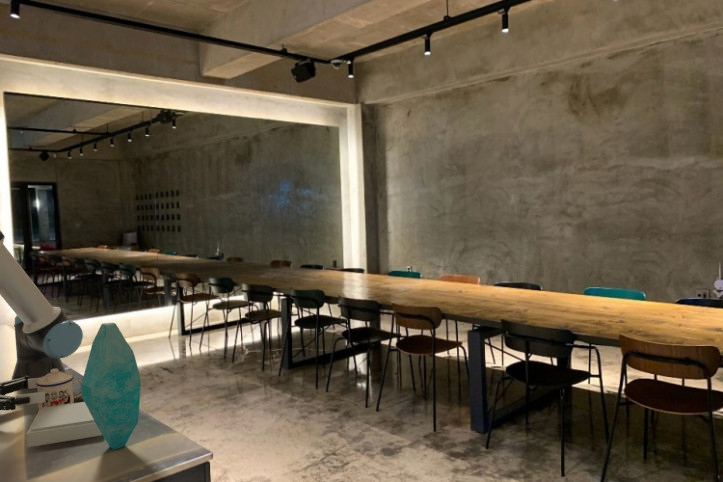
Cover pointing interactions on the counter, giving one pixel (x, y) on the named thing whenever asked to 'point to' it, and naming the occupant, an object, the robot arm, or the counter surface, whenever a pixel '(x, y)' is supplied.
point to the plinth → (62, 424)
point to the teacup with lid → (57, 388)
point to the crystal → (112, 385)
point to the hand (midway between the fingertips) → (49, 388)
